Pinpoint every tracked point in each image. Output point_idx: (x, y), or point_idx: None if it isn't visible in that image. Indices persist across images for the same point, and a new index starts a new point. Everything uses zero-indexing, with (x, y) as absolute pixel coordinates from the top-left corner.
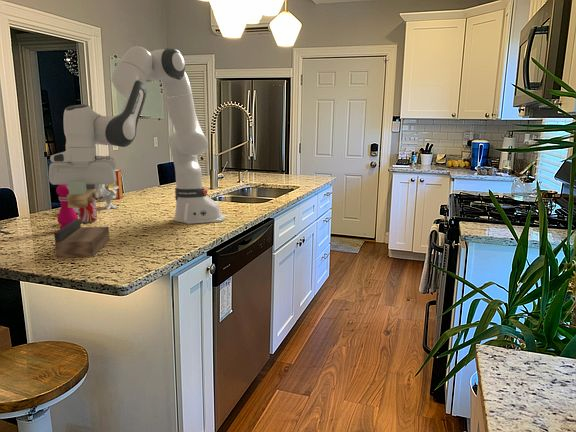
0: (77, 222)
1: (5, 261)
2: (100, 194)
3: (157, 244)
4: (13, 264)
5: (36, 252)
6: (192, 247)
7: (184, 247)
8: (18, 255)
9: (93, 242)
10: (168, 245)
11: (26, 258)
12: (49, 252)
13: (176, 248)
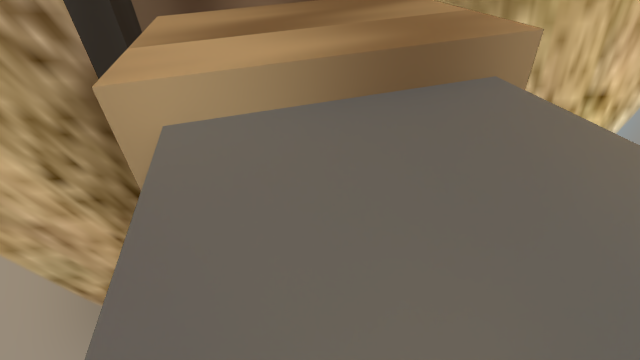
0: (125, 31)
1: (43, 274)
2: (429, 2)
3: (540, 41)
4: (106, 288)
5: (58, 179)
6: (637, 84)
7: (614, 84)
8: (15, 220)
9: None
10: (574, 57)
11: (93, 242)
12: (122, 175)
13: (586, 98)
